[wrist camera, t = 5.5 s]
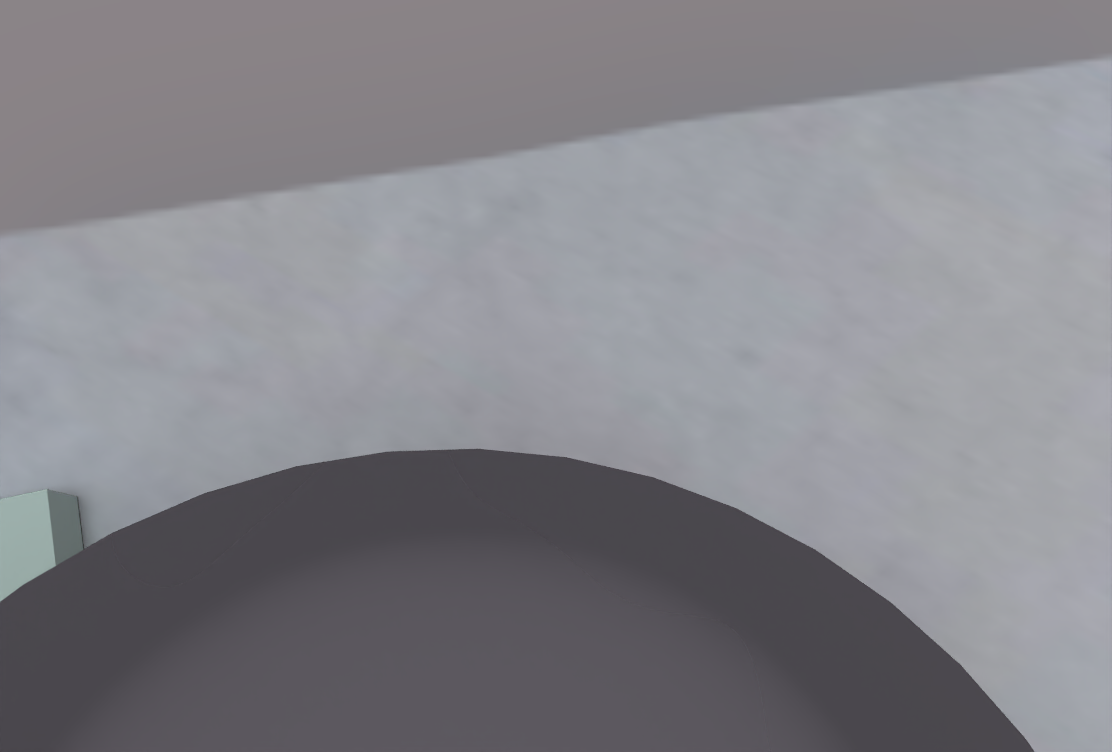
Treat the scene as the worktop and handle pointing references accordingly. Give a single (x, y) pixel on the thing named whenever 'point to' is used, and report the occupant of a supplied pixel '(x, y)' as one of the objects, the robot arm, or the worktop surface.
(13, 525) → the sage board
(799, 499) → the worktop surface
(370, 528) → the grey translucent cylinder
